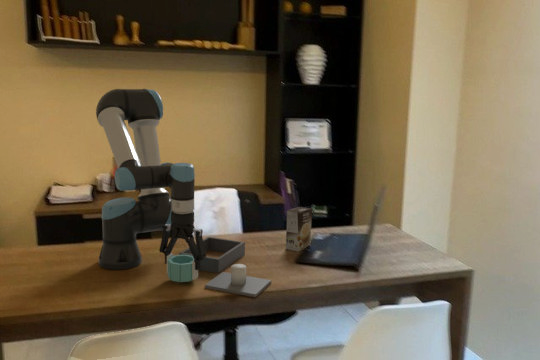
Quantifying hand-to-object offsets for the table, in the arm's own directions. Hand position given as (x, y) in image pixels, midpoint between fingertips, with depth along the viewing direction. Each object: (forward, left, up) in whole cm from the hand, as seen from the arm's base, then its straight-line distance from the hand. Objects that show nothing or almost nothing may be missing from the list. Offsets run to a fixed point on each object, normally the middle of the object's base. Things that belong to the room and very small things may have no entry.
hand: (182, 275), depth 178 cm
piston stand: (+19, +5, -2) cm, 19 cm away
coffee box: (+24, +51, -2) cm, 56 cm away
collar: (0, 0, 0) cm, 0 cm away
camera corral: (0, +23, -2) cm, 23 cm away
